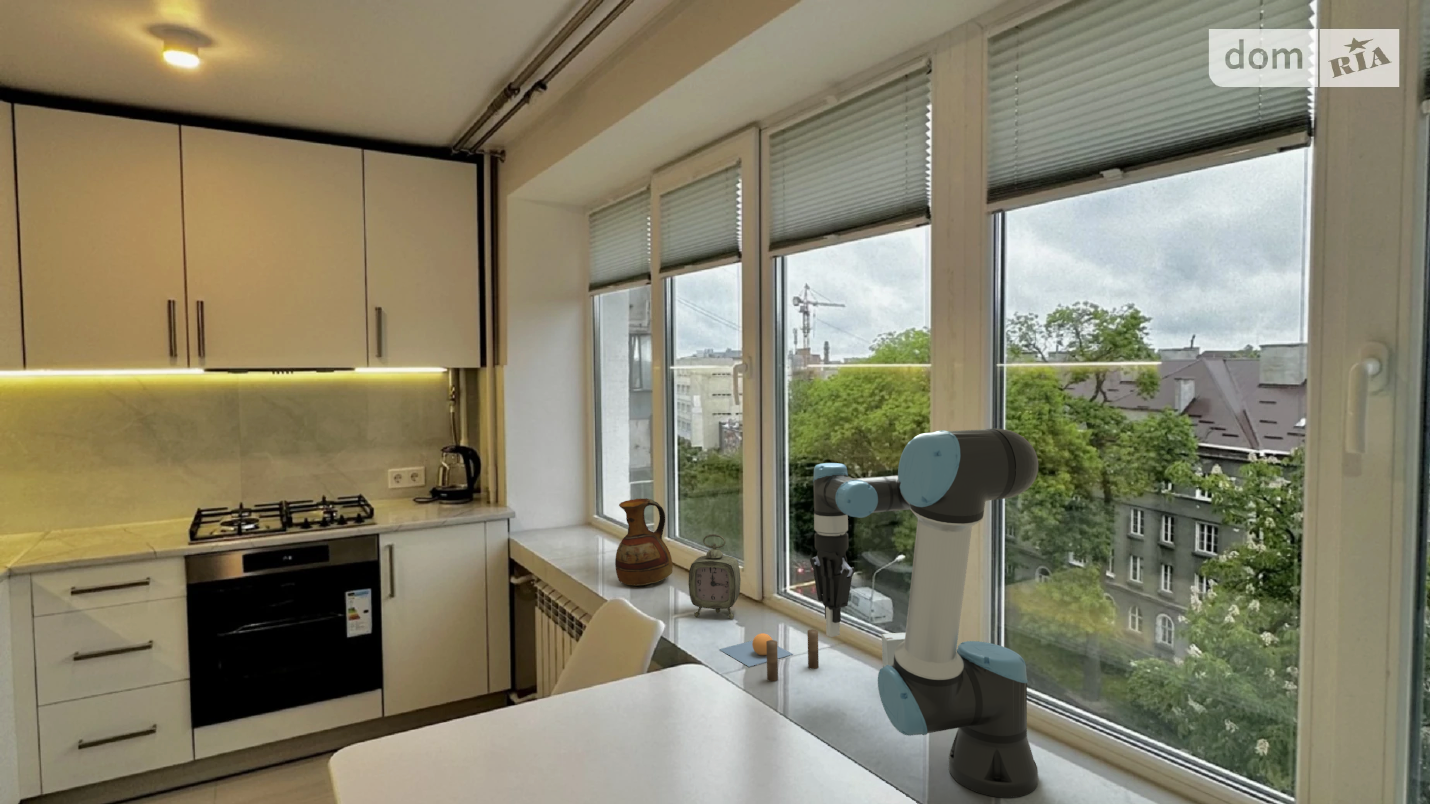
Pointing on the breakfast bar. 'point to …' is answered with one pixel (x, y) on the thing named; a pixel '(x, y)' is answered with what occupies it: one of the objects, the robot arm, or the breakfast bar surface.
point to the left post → (772, 660)
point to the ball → (761, 643)
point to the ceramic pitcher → (642, 547)
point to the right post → (813, 649)
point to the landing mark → (750, 654)
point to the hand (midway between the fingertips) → (833, 635)
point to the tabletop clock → (714, 580)
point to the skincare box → (890, 646)
